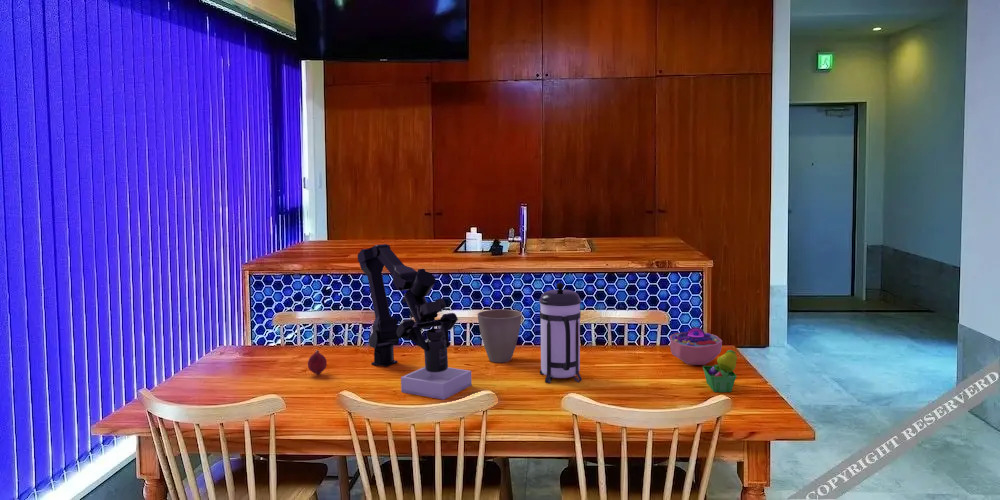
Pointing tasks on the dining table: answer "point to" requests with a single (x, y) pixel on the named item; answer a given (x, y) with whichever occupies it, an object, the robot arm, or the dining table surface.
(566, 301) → the coffee press
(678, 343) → the cell model
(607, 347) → the dining table surface
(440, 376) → the purple bin
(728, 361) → the fruit basket
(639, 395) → the dining table surface
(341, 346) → the dining table surface
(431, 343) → the supplement bottle
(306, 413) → the dining table surface
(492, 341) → the plant pot
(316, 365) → the onion
